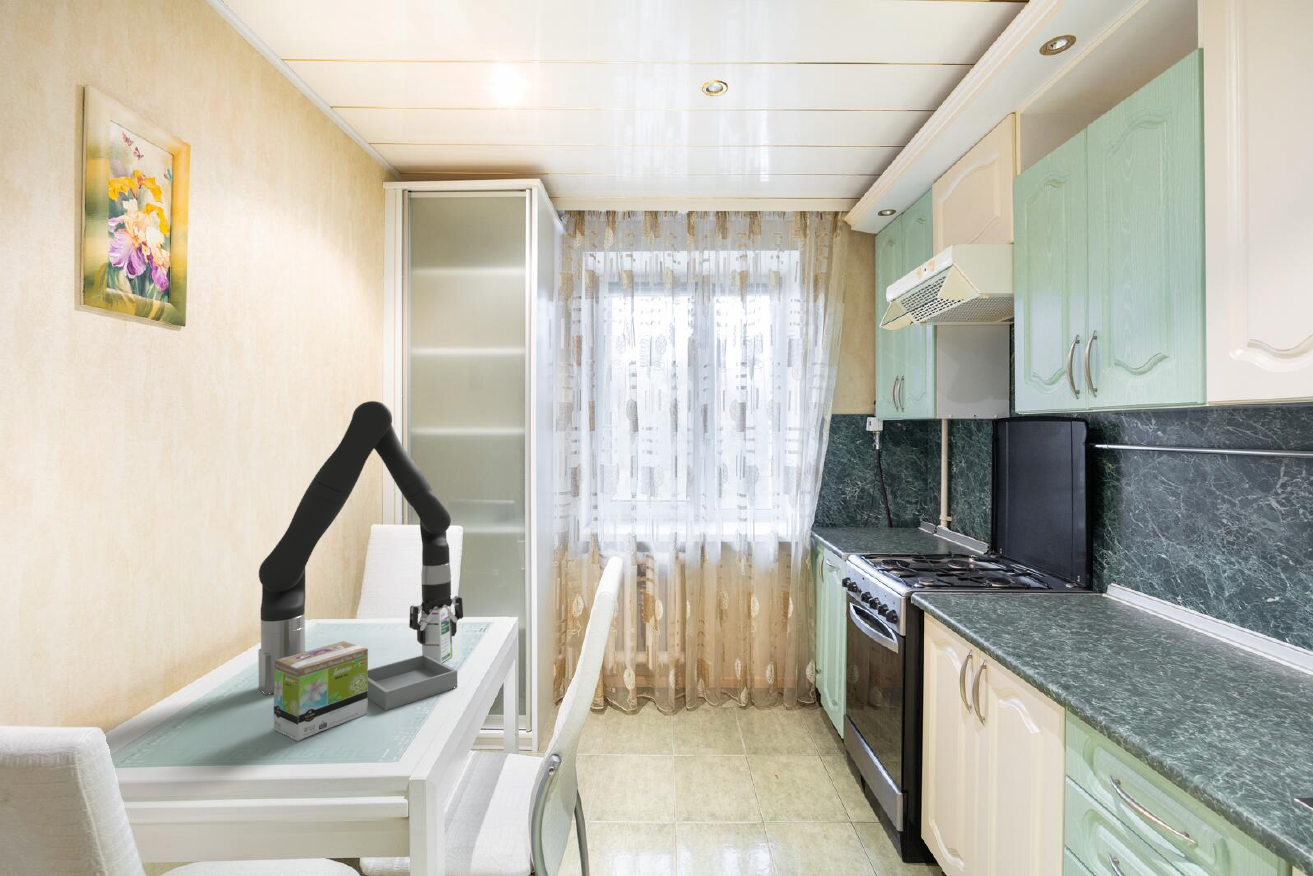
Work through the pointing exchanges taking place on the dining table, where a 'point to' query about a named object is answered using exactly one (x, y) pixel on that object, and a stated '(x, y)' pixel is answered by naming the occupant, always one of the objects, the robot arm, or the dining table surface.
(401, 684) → the tray
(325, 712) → the tea box
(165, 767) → the dining table surface
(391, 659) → the dining table surface
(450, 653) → the syrup box
